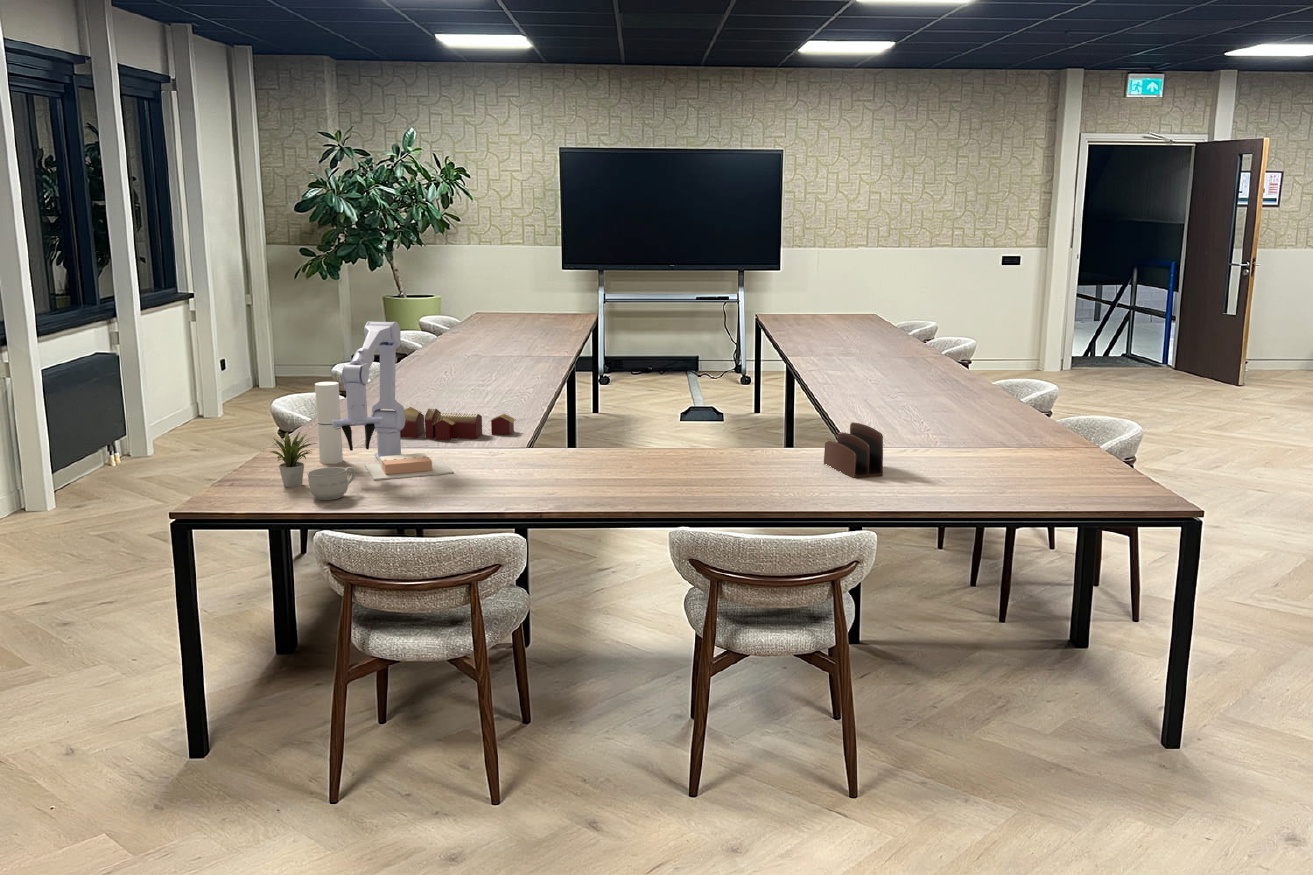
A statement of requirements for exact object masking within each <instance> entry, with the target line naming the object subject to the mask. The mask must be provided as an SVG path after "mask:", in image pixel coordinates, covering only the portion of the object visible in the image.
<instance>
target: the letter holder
mask: <svg viewBox="0 0 1313 875" xmlns="http://www.w3.org/2000/svg"><path fill="white" fill-rule="evenodd" d="M883 436H884V435H883V434H882V432H880V431H878V430H877V429H875V428H873V427H871V426H869V425H866V424H864V423H863V424H862V423H858V422H850V425H849V433H848V432H844V431H841V432H838V433H837V442H836V441H833V440H826V441H825V442H824V453H823V454H824V455H823V465H825V464H827V465H829V466H831V467H832V468H831V467H830V468H831V469H833V468H834V470H835V469H836V470H835V471H837V472H839V471H841V472H842V474H844V475H846V476H847V477H850V478H851V479H854V478H857V479H866V478H867V479H868V478H877V477H883V475H884V474H883V473H884V472H883V471H884V437H883ZM827 465H826V466H827ZM829 466H828V467H829ZM841 472H840V473H841Z"/></svg>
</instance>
